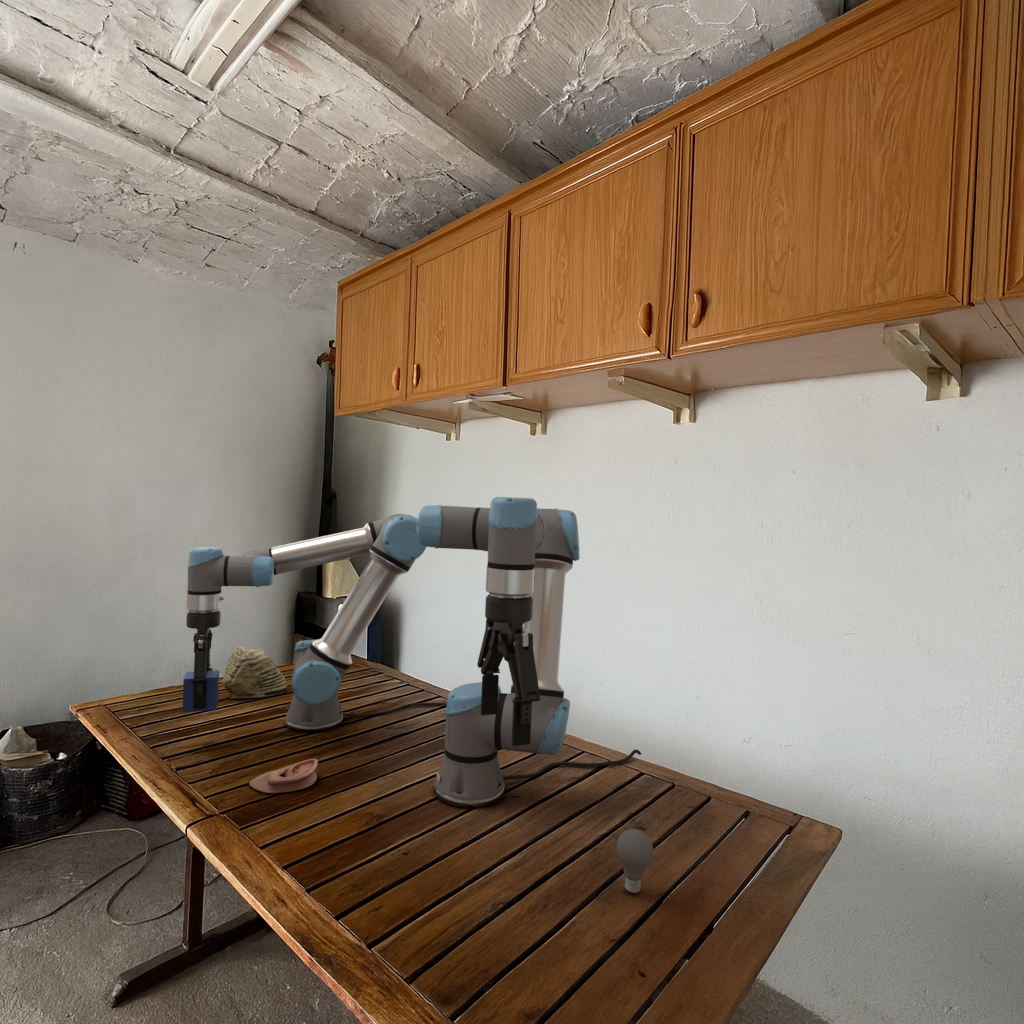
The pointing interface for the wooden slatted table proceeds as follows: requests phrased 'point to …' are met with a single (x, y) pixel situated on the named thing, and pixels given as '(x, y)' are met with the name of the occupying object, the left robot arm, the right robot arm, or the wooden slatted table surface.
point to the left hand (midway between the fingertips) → (201, 703)
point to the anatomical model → (287, 778)
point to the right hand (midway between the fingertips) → (503, 728)
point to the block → (211, 691)
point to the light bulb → (634, 857)
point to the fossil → (252, 674)
